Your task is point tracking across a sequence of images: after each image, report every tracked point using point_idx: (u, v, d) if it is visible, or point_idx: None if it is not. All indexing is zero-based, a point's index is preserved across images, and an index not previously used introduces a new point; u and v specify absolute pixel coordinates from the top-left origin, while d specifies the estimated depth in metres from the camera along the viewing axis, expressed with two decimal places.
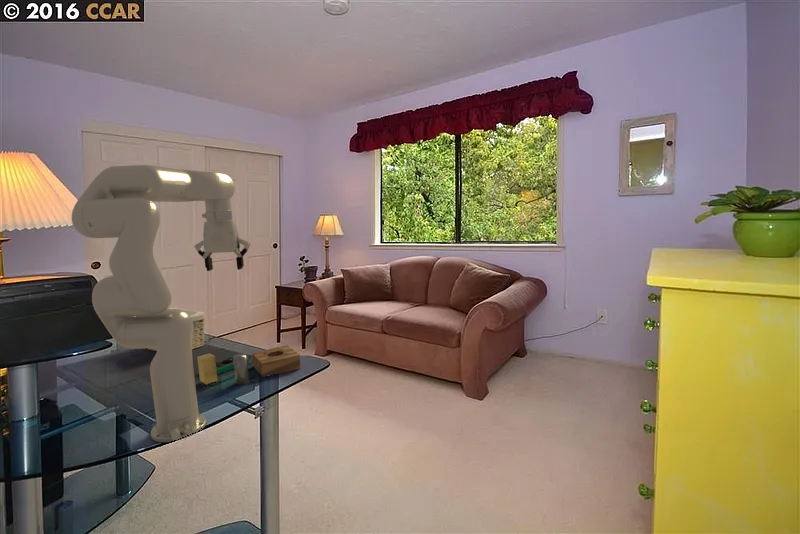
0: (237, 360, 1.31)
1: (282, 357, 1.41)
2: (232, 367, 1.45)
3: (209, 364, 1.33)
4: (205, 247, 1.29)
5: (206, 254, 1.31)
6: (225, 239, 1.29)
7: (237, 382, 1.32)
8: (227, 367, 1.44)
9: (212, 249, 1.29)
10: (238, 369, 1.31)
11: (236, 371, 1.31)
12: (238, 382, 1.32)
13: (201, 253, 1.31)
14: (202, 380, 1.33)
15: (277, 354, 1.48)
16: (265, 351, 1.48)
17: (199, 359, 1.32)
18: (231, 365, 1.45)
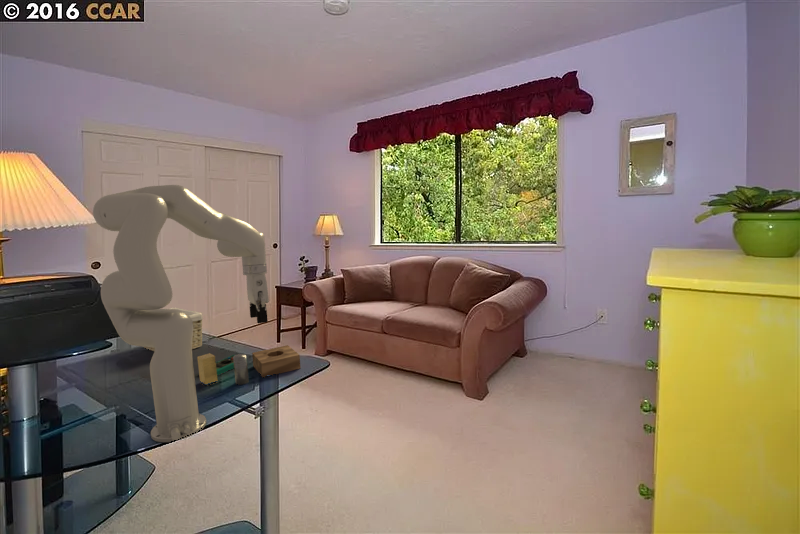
0: (237, 360, 1.31)
1: (282, 357, 1.41)
2: (233, 366, 1.46)
3: (209, 364, 1.33)
4: None
5: None
6: None
7: (237, 382, 1.32)
8: (228, 367, 1.44)
9: None
10: (238, 369, 1.31)
11: (236, 371, 1.31)
12: (238, 382, 1.32)
13: None
14: (202, 380, 1.33)
15: (277, 354, 1.48)
16: (265, 351, 1.48)
17: (199, 359, 1.32)
18: (232, 364, 1.45)
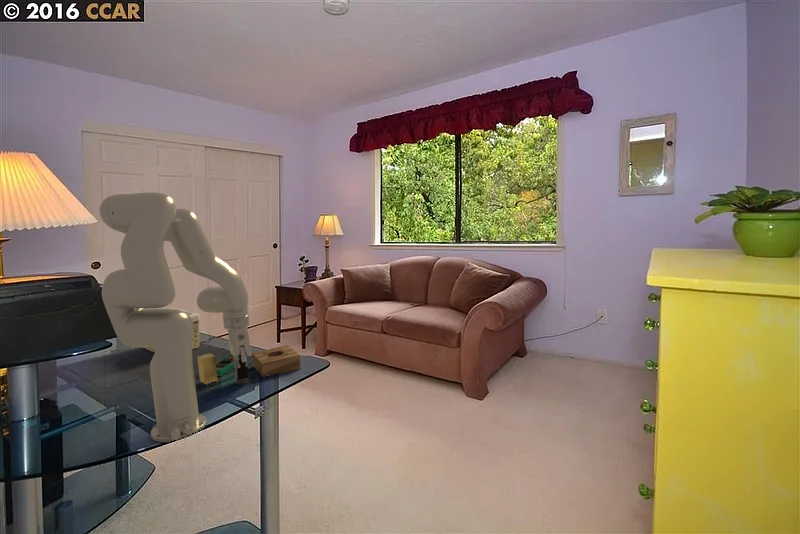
0: None
1: (282, 357, 1.41)
2: None
3: (209, 364, 1.33)
4: (250, 351, 1.30)
5: None
6: None
7: (237, 382, 1.32)
8: (230, 366, 1.44)
9: None
10: None
11: (236, 371, 1.31)
12: (238, 382, 1.32)
13: None
14: (202, 380, 1.33)
15: (277, 354, 1.48)
16: (265, 351, 1.48)
17: (199, 359, 1.32)
18: (233, 364, 1.46)
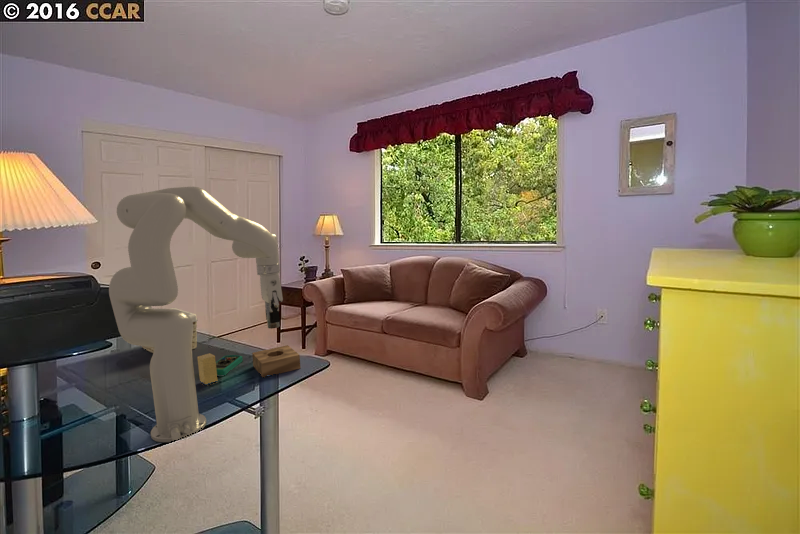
0: None
1: (282, 357, 1.41)
2: (234, 365, 1.47)
3: (209, 364, 1.33)
4: None
5: None
6: None
7: (269, 326, 1.42)
8: (231, 366, 1.45)
9: None
10: None
11: (268, 315, 1.41)
12: (270, 326, 1.42)
13: None
14: (202, 380, 1.33)
15: (277, 354, 1.48)
16: (265, 351, 1.48)
17: (199, 359, 1.32)
18: (233, 363, 1.46)
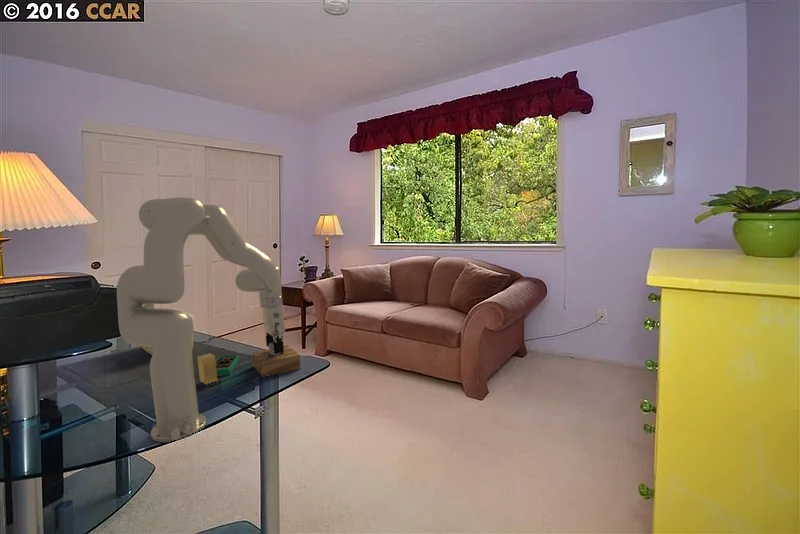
0: (273, 347, 1.43)
1: (282, 357, 1.41)
2: (234, 365, 1.47)
3: (209, 364, 1.33)
4: (284, 329, 1.41)
5: None
6: None
7: None
8: (233, 365, 1.45)
9: None
10: (273, 355, 1.43)
11: None
12: None
13: None
14: (202, 380, 1.33)
15: None
16: (265, 351, 1.48)
17: (199, 359, 1.32)
18: (233, 363, 1.47)
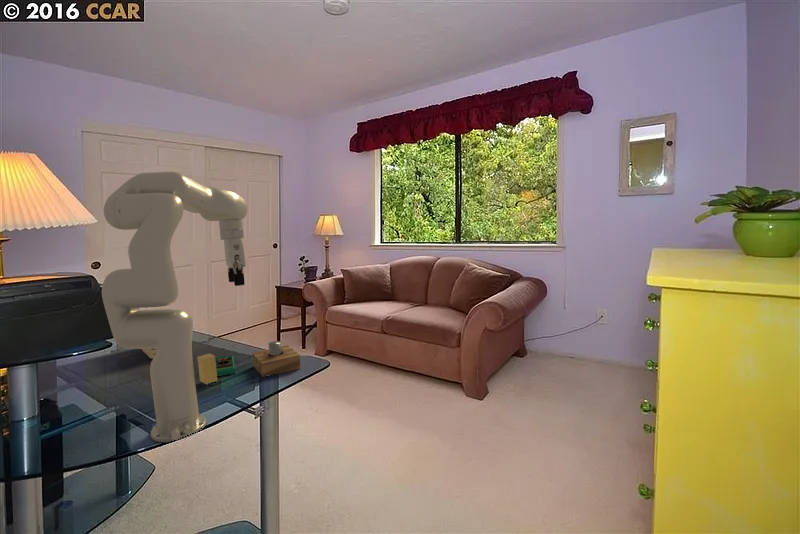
0: (273, 347, 1.43)
1: (282, 357, 1.41)
2: None
3: (209, 364, 1.33)
4: (245, 262, 1.41)
5: None
6: None
7: None
8: None
9: None
10: (273, 355, 1.43)
11: None
12: None
13: None
14: (202, 380, 1.33)
15: None
16: (265, 351, 1.48)
17: (199, 359, 1.32)
18: (233, 362, 1.48)
